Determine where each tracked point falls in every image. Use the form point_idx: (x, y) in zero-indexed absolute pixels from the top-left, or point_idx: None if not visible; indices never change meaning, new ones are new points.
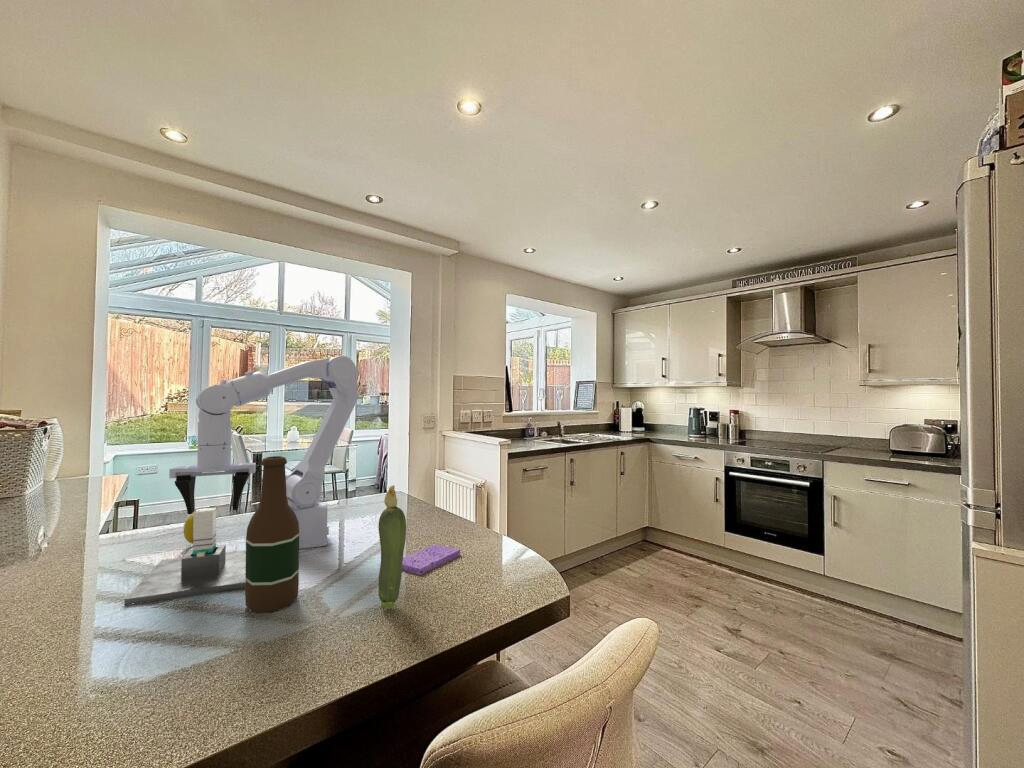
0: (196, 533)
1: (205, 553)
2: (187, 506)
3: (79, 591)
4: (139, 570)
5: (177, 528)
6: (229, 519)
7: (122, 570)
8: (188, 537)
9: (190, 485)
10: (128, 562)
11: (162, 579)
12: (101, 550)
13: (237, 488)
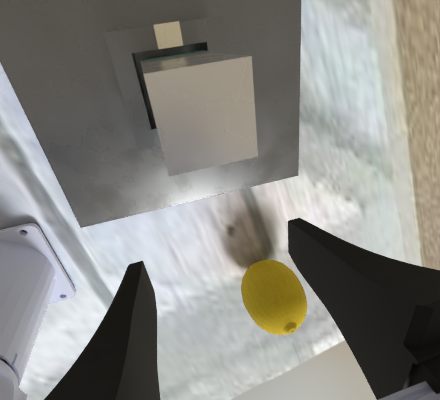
0: (206, 55)
1: (156, 41)
2: (318, 229)
3: (402, 43)
4: (325, 147)
5: (318, 337)
6: (250, 377)
7: (354, 152)
8: (280, 264)
9: (380, 311)
10: (353, 194)
11: (255, 28)
12: (401, 252)
13: (103, 352)
